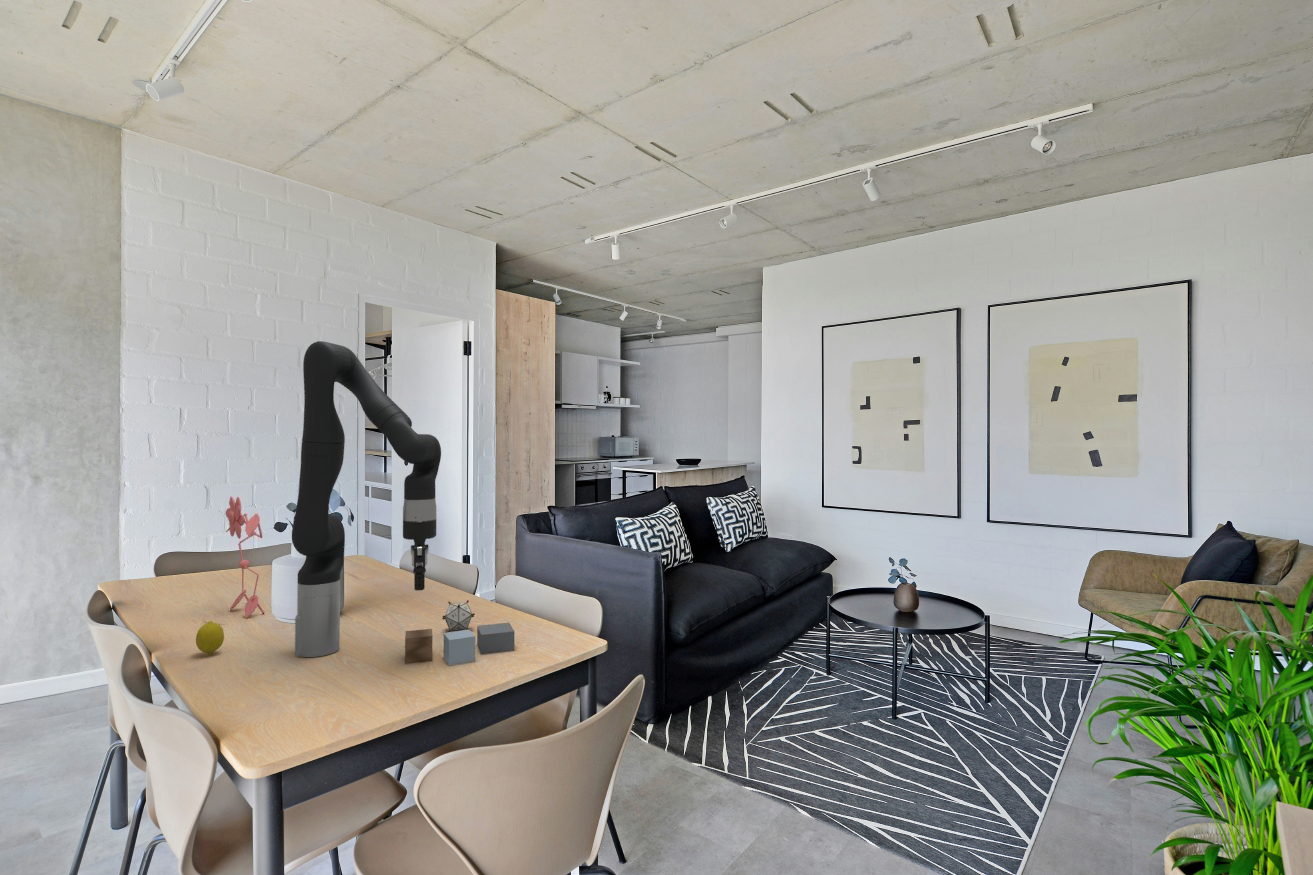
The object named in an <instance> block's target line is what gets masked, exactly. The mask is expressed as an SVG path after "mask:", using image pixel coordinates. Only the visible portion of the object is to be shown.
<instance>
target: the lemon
mask: <svg viewBox="0 0 1313 875" xmlns="http://www.w3.org/2000/svg"><path fill="white" fill-rule="evenodd" d="M224 639H225V632H224V628H223V627H222V626H221V625H220V623H217V622H215V621H214V622H213V620H210V621H208V622H207V623H206V622H205V624H203V625H202V626H201V627H199V629H198V631H197V633H196V636H195V644H196V647H197V649H198V650H199V651H200V652H203V653H206V654H207V655H208V656H209V655H212V654H213V653H214V652H215V651H218V649H220V647H222V645H223V643H224Z"/></svg>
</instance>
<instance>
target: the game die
mask: <svg viewBox="0 0 1313 875" xmlns="http://www.w3.org/2000/svg"><path fill="white" fill-rule="evenodd" d="M469 602H470V601H469V599H468V600H466V601H465V602H455V603H454V602H453V603H451V601H449V600H448V602H447V603H448V607H447V610H446V612H445V614H444V615H442V620H443V621H444V620H445V623H446V626H447V627H448V631H447V633H448V632H454V631H462V630H469V629H468V628H469V625H470V623H471V620H472V618H474V617H475V615H476V614H475V613H474V612H472V610H471V608H470V606H469Z"/></svg>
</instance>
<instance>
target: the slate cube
mask: <svg viewBox="0 0 1313 875" xmlns="http://www.w3.org/2000/svg"><path fill="white" fill-rule="evenodd" d="M442 652H443V654H442V655H443V659H444V661H445V663H447V666H448V667H449V666H457V665H462V664H468V663H473V662H474V663H475V662H476V635H475V634H474V633H473V631H471V629H468V630H466V629H465V630H454V631H450V632H448V631H447V632H443V651H442Z"/></svg>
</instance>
